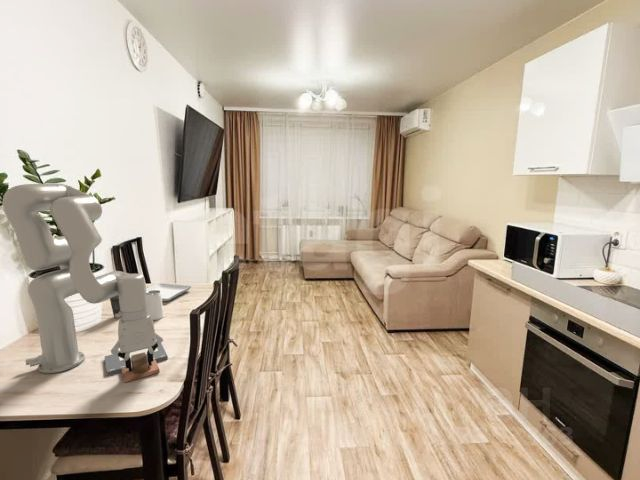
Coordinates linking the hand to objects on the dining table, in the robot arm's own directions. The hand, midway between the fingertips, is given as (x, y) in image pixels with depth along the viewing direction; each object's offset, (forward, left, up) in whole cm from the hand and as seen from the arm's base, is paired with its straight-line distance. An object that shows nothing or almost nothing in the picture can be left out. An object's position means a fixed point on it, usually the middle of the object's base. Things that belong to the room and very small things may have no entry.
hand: (140, 366), depth 111 cm
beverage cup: (-1, +56, -2) cm, 56 cm away
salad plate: (+21, +75, -3) cm, 78 cm away
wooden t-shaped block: (0, 0, -2) cm, 2 cm away
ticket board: (0, +10, -2) cm, 10 cm away
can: (+12, +45, -2) cm, 47 cm away
